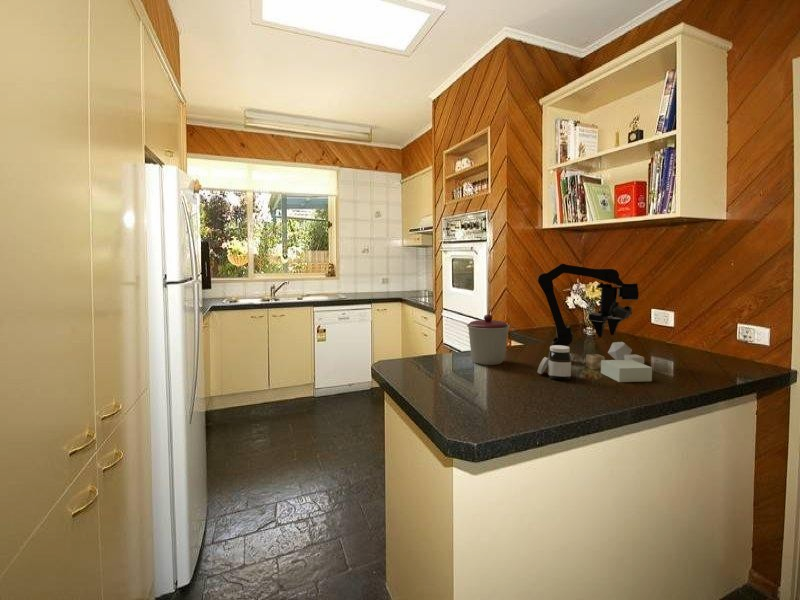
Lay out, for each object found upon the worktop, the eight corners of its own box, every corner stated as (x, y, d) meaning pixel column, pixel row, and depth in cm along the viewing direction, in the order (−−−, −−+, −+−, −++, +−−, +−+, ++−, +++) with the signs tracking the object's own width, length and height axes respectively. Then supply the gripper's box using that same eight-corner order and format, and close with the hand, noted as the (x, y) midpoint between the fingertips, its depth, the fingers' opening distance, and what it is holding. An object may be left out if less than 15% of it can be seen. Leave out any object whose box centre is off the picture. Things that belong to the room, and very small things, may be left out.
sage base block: (619, 382, 142) (619, 368, 141) (600, 372, 154) (601, 360, 153) (651, 381, 142) (652, 367, 142) (630, 372, 154) (631, 359, 154)
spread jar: (572, 382, 143) (573, 350, 142) (540, 380, 145) (540, 349, 144) (566, 372, 155) (566, 343, 154) (535, 371, 157) (536, 342, 156)
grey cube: (631, 369, 158) (632, 357, 157) (624, 366, 163) (624, 354, 162) (643, 369, 158) (644, 357, 158) (635, 366, 163) (636, 354, 162)
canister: (458, 362, 173) (458, 314, 171) (483, 355, 185) (483, 310, 183) (493, 370, 159) (493, 318, 157) (517, 362, 171) (518, 314, 169)
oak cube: (592, 369, 159) (592, 357, 159) (585, 366, 164) (586, 354, 164) (604, 369, 159) (604, 357, 159) (597, 366, 164) (597, 354, 164)
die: (632, 364, 168) (638, 344, 171) (614, 355, 167) (620, 335, 171) (618, 367, 175) (624, 348, 179) (602, 357, 175) (608, 338, 178)
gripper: (616, 302, 152) (613, 342, 154) (640, 299, 162) (637, 337, 164) (588, 299, 161) (586, 337, 163) (613, 297, 172) (610, 333, 173)
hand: (606, 336), depth 165 cm, fingers open, 9 cm apart
